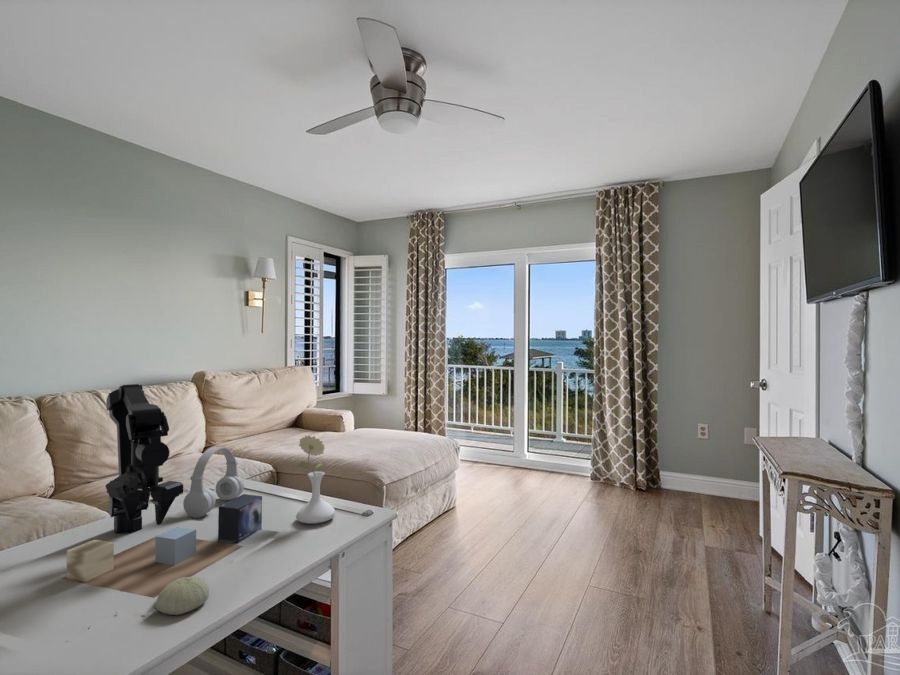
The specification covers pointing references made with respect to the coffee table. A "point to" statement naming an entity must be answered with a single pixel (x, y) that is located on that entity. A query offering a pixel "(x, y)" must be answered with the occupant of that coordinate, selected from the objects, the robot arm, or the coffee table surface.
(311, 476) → the flower in vase
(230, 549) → the walnut board
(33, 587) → the coffee table surface
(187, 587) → the sea urchin shell
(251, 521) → the small box
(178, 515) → the coffee table surface
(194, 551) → the slate cube
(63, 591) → the coffee table surface
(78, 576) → the birch cube
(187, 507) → the headphones
